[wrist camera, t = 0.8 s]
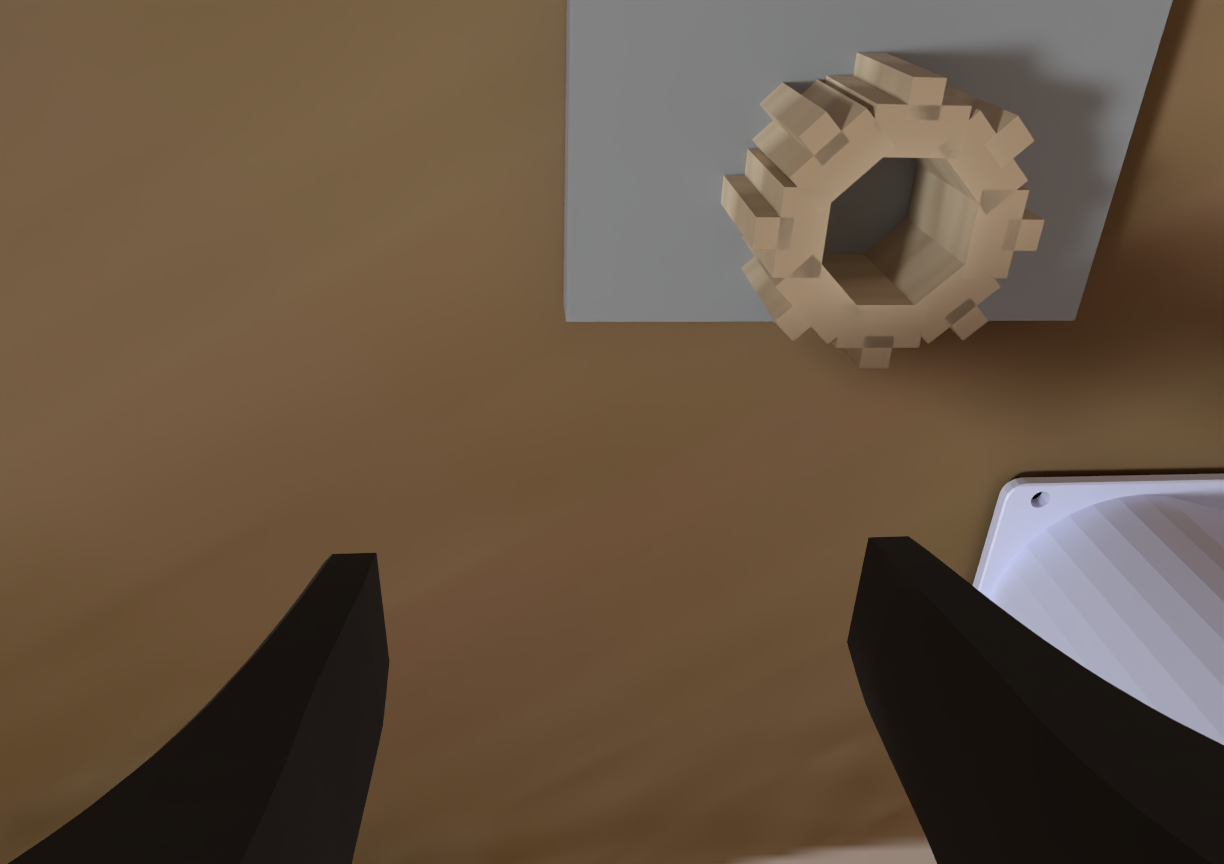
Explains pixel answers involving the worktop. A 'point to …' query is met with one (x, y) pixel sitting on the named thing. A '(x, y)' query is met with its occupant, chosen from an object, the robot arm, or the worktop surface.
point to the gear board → (797, 56)
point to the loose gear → (920, 245)
